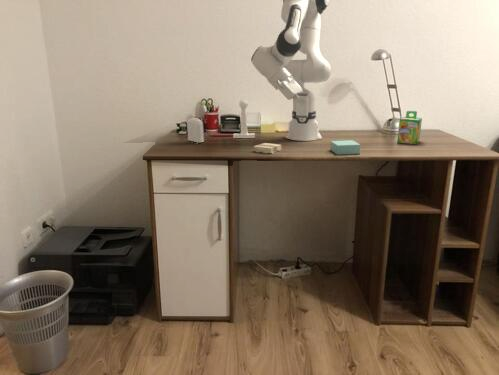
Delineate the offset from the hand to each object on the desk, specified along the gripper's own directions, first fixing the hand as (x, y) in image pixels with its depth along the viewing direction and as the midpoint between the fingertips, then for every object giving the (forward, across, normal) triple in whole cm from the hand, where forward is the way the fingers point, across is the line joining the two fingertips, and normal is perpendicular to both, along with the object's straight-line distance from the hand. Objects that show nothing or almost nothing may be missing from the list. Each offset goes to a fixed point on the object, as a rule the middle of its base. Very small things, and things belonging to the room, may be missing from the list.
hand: (304, 103), depth 180 cm
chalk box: (+48, +36, -16) cm, 62 cm away
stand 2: (+28, +8, +3) cm, 29 cm away
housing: (+4, 0, +5) cm, 6 cm away
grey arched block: (-25, +15, +56) cm, 63 cm away
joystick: (-11, +31, +41) cm, 53 cm away
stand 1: (+4, +2, +27) cm, 27 cm away
